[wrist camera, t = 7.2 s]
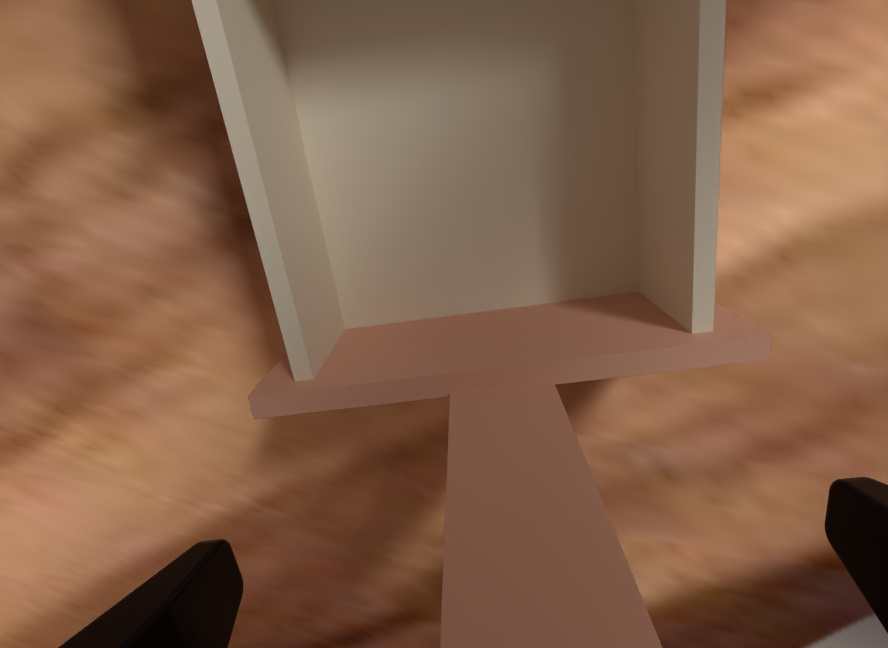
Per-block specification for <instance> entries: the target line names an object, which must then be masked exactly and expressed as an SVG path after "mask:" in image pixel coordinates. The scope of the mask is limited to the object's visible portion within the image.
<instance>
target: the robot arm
mask: <svg viewBox="0 0 888 648" xmlns="http://www.w3.org/2000/svg"><path fill="white" fill-rule="evenodd" d="M825 532H826V535H827V538H828V540H829V542H830V544H831V546H832V548H833V549H834V551H835V552H836V554H837V555H838V557H839V558H840V560H841V562H842V563H843V565H844V566H845V568H846V569H847V571H848V572H849V574H850V575H851V577H852V579H853V580H854V582H855V583H856V585H857V586H858V588H859V589H860V591H861V593H862V594H863V596H864V597H865V599H866V600H867V602H868V603H869V605H870V606H871V608H872V610H873V611H874V613H875V614H876V616H877V617H878V619H879V620H880V622H881V623H882V625H883V627H884V628H885V630H886V631H887V633H888V485H886V484H884V483H881V482H879V481H876V480H874V479H871V478H867V477H856V478H846V479H838V480H836V481H834V482H833V483H832V484H831V486H830V489H829V497H828V504H827V511H826V518H825ZM242 594H243V579H242V575H241V573H240V570H239V567H238V564H237V562H236V559H235V556H234V553H233V551H232V548H231V545H230V543H229V542H228V541H226V540H224V539H217V540H207V541H201V542H198V543H197V544H195V545H194V546H192V547H191V548H190V549H188V550H187V551H186V552H185V553H183V554H182V555H181V556H179V557H178V558H177V559H175V560H174V561H173V562H171V563H170V564H169V565H167V566H166V567H165V568H163V569H162V570H161V571H159V572H158V573H157V574H155V575H154V576H153V577H151V578H150V579H149V580H147V581H146V582H145V583H143V584H142V585H141V586H139V587H138V588H137V589H135V590H134V591H133V592H131V593H130V594H129V595H127V596H126V597H125V598H123V599H122V600H121V601H120V602H118V603H117V604H116V605H114V606H113V607H112V608H110V609H109V610H108V611H106V612H105V613H104V614H102V615H101V616H100V617H98V618H97V619H96V620H94V621H93V622H92V623H90V624H89V625H88V626H86V627H85V628H84V629H82V630H81V631H80V632H78V633H77V634H76V635H74V636H73V637H72V638H70V639H69V640H68V641H66V642H65V643H64V644H62V645H61V646H60V647H58V648H228V644H229V641H230V637H231V634H232V630H233V626H234V623H235V619H236V616H237V612H238V609H239V605H240V602H241V598H242Z"/></svg>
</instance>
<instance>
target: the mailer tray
mask: <svg viewBox="0 0 888 648" xmlns="http://www.w3.org/2000/svg"><path fill="white" fill-rule="evenodd" d="M192 4H193V8H194V11H195V15H196V19H197V22H198V26H199V30H200V34H201V37H202V41H203V45H204V48H205V52H206V56H207V59H208V63H209V67H210V71H211V74H212V78H213V82H214V85H215V89H216V93H217V96H218V100H219V104H220V107H221V111H222V115H223V119H224V122H225V126H226V130H227V133H228V137H229V141H230V144H231V148H232V152H233V155H234V159H235V163H236V167H237V170H238V174H239V178H240V181H241V185H242V189H243V192H244V196H245V200H246V203H247V207H248V211H249V215H250V218H251V222H252V226H253V229H254V233H255V237H256V240H257V244H258V248H259V252H260V255H261V259H262V263H263V266H264V270H265V274H266V277H267V281H268V285H269V288H270V292H271V296H272V300H273V303H274V307H275V311H276V314H277V318H278V322H279V325H280V329H281V333H282V336H283V340H284V344H285V348H286V351H287V352H286V353H285V354H284V355H283V357H282V358H281V359H280V360H279V361H278V362H277V364H276V365H275V366H274V367H273V368H272V369H271V371H270V372H269V373H268V374H267V375H266V376H265V378H264V379H263V380H262V381H261V382H260V383H259V385H258V386H257V387H256V388H255V389H254V390H253V392H252V393H251V394H250V395H249V396H248V400H249V403H250V406H251V409H252V413H253V416H254V419H260V418H269V417H277V416H286V415H295V414H304V413H312V412H321V411H330V410H338V409H347V408H356V407H365V406H373V405H382V404H391V403H400V402H408V401H417V400H426V399H434V398H443V397H450V406H449V431H448V457H447V482H446V508H445V534H444V559H443V585H442V610H441V636H440V648H662V646H661V643H660V641H659V638H658V636H657V633H656V631H655V629H654V626H653V624H652V621H651V619H650V616H649V614H648V611H647V609H646V606H645V604H644V602H643V599H642V597H641V594H640V592H639V589H638V587H637V584H636V582H635V580H634V577H633V575H632V572H631V570H630V567H629V565H628V562H627V560H626V557H625V555H624V553H623V550H622V548H621V545H620V543H619V540H618V538H617V535H616V533H615V530H614V528H613V526H612V523H611V521H610V518H609V516H608V513H607V511H606V508H605V506H604V503H603V501H602V499H601V496H600V494H599V491H598V489H597V486H596V484H595V481H594V479H593V477H592V474H591V472H590V469H589V467H588V464H587V462H586V459H585V457H584V454H583V452H582V450H581V447H580V445H579V442H578V440H577V437H576V435H575V432H574V430H573V427H572V425H571V423H570V420H569V418H568V415H567V413H566V410H565V408H564V405H563V403H562V400H561V398H560V396H559V393H558V391H557V388H556V386H555V385H557V384H565V383H574V382H583V381H591V380H600V379H609V378H618V377H626V376H635V375H644V374H653V373H661V372H670V371H679V370H687V369H696V368H705V367H714V366H722V365H731V364H740V363H748V362H757V361H766V360H770V348H771V335H770V334H769V333H767V332H765V331H764V330H762V329H760V328H758V327H757V326H755V325H753V324H752V323H750V322H748V321H747V320H745V319H743V318H742V317H740V316H738V315H737V314H735V313H733V312H731V311H730V310H728V309H726V308H725V307H723V306H721V305H720V304H718V303H716V302H715V301H714V297H715V272H716V247H717V222H718V197H719V171H720V146H721V121H722V96H723V71H724V46H725V21H726V0H192Z"/></svg>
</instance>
